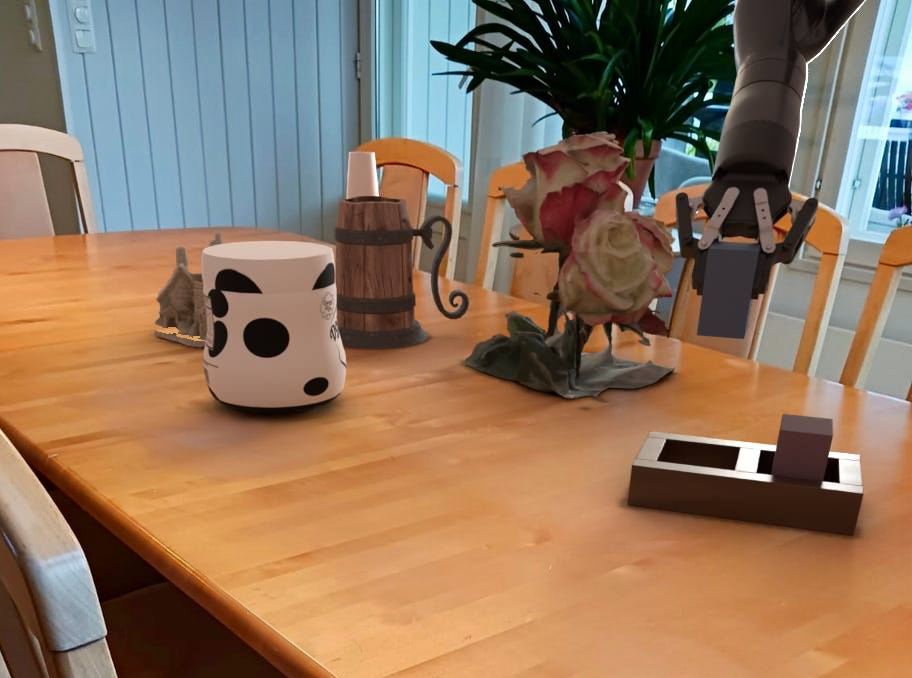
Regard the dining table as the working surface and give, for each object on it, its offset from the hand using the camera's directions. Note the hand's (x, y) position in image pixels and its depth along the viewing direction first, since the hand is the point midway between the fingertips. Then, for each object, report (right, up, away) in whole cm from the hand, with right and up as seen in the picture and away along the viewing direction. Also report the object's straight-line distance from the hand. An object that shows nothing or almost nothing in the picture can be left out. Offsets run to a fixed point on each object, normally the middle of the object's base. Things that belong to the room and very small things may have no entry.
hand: (727, 291), depth 93 cm
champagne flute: (-42, +35, +97) cm, 112 cm away
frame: (+2, -20, +2) cm, 20 cm away
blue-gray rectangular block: (+1, -3, +4) cm, 5 cm away
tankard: (-34, +15, +62) cm, 73 cm away
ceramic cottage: (-65, +14, +60) cm, 90 cm away
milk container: (-48, -4, +28) cm, 56 cm away
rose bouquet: (-7, +4, +44) cm, 45 cm away
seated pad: (+6, -20, 0) cm, 21 cm away
